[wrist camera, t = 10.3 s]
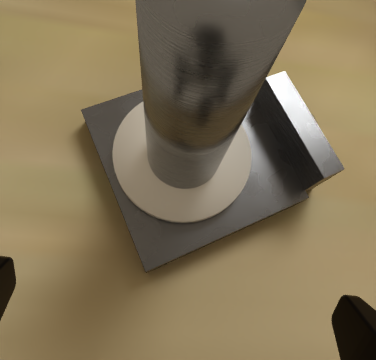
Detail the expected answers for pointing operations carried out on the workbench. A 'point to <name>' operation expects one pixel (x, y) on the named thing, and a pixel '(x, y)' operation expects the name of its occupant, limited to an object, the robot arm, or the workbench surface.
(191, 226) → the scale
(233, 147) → the pan
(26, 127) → the workbench surface
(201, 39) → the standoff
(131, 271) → the workbench surface
